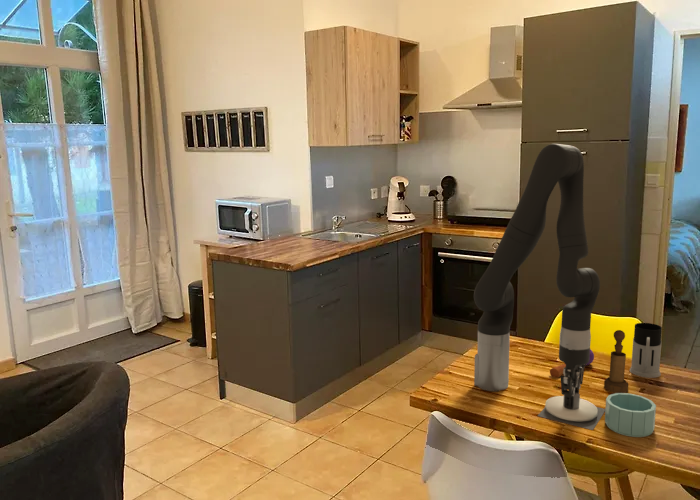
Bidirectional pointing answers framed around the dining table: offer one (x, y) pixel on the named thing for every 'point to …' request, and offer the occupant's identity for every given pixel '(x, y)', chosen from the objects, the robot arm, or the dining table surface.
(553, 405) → the lid
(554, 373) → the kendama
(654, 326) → the glass holder
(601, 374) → the dining table surface
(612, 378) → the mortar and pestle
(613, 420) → the cup
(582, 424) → the mat
